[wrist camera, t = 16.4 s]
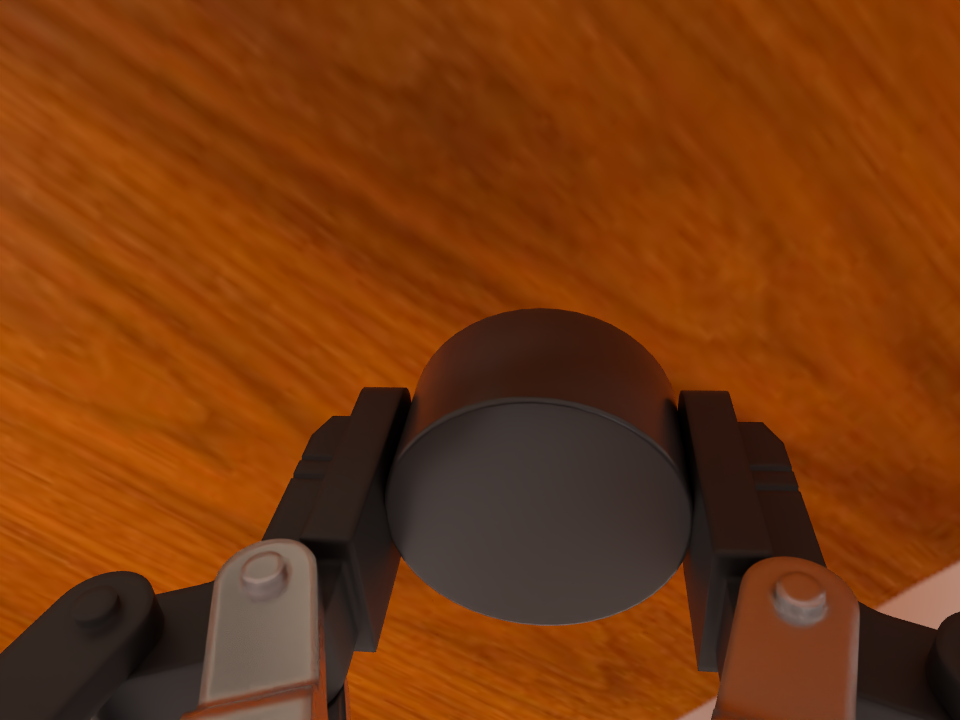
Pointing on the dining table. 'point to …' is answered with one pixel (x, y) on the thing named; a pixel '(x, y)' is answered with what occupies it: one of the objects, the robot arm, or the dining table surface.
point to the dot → (542, 471)
